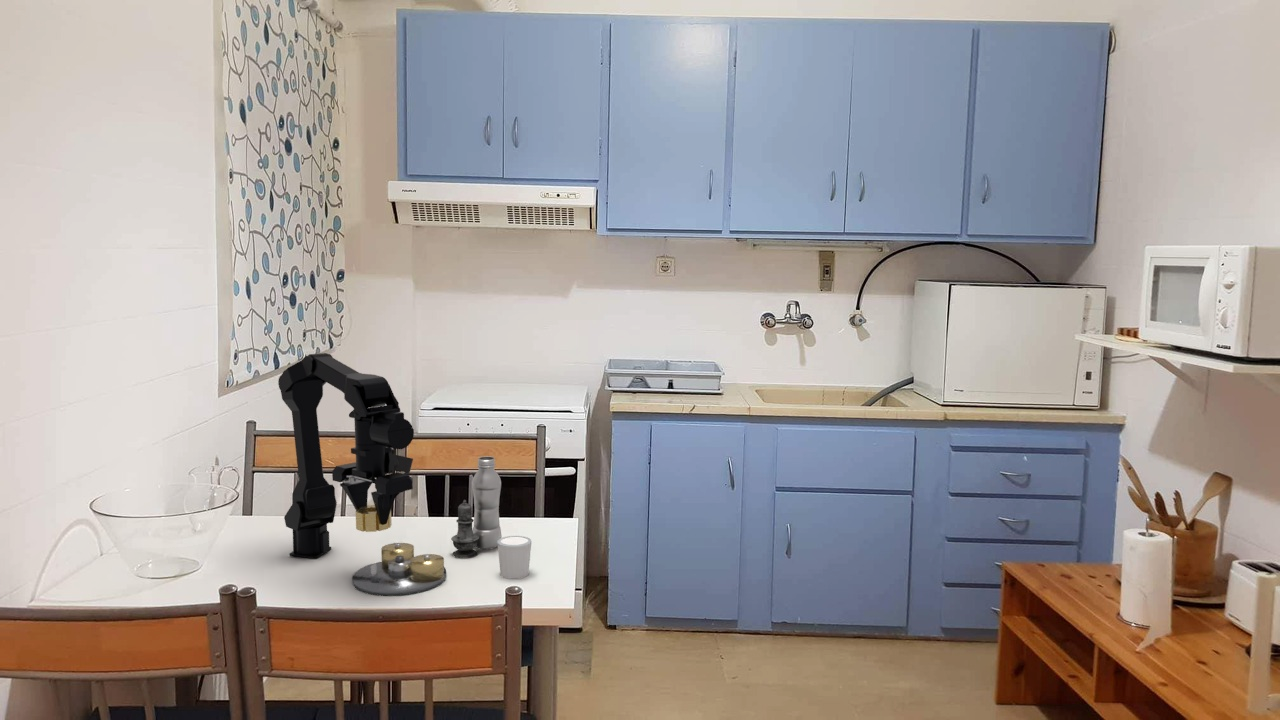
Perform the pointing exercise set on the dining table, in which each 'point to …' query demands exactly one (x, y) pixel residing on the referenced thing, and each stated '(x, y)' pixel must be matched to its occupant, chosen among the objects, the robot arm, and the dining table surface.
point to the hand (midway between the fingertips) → (373, 521)
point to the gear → (370, 520)
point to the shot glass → (514, 556)
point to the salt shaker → (465, 533)
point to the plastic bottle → (486, 504)
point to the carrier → (400, 572)
